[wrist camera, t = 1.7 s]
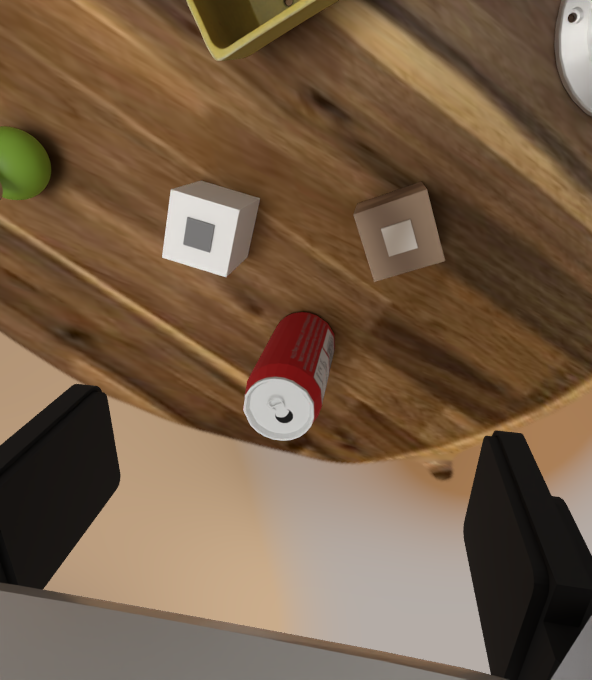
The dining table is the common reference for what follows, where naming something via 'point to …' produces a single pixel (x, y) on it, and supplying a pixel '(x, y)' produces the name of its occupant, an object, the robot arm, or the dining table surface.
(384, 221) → the walnut block
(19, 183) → the snail figurine
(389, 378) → the dining table surface
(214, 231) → the white block
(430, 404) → the dining table surface
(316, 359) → the soda can
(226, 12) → the flower pot
